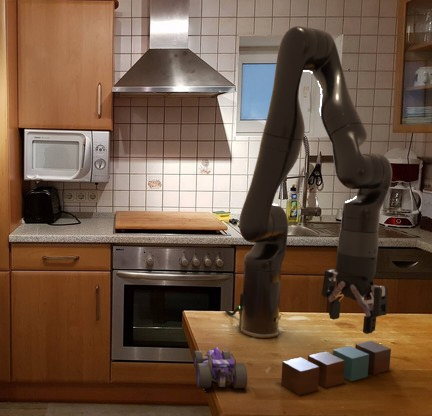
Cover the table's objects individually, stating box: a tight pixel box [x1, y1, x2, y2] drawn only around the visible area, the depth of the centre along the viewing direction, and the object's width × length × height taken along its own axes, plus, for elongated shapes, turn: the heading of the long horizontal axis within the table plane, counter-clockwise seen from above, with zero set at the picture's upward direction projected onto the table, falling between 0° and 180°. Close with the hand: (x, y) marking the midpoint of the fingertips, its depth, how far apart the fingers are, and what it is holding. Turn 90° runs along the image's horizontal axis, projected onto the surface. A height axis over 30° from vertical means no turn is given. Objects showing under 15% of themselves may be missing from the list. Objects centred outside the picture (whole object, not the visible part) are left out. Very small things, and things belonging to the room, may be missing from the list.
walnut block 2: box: [307, 351, 345, 389], centre depth 109 cm, size 5×5×5 cm
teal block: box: [332, 345, 369, 382], centre depth 112 cm, size 5×5×5 cm
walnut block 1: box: [280, 356, 319, 396], centre depth 106 cm, size 5×5×5 cm
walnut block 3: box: [354, 340, 392, 376], centre depth 115 cm, size 5×5×5 cm
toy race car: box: [192, 347, 248, 389], centre depth 111 cm, size 10×15×6 cm, turn 1°
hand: (350, 325), depth 111 cm, fingers open, 8 cm apart
